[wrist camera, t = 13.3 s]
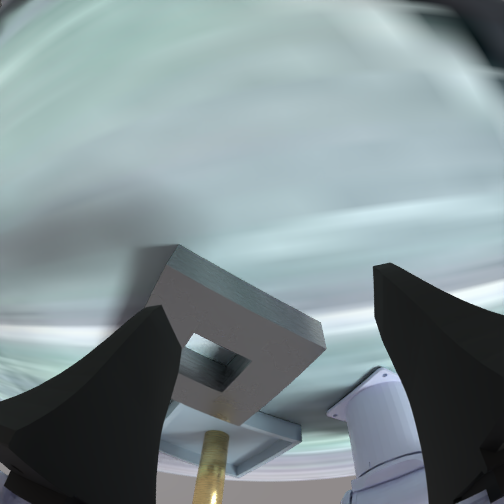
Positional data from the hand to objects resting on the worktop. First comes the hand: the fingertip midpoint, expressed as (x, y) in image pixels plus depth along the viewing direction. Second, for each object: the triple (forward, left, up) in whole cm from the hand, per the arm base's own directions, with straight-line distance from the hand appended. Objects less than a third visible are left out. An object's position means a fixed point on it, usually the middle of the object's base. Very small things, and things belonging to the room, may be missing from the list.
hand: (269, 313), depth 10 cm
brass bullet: (-9, +24, -10) cm, 27 cm away
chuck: (-2, +11, -10) cm, 15 cm away
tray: (-9, +24, -10) cm, 28 cm away
